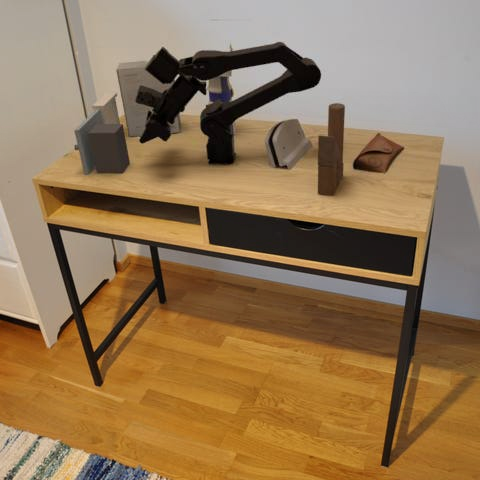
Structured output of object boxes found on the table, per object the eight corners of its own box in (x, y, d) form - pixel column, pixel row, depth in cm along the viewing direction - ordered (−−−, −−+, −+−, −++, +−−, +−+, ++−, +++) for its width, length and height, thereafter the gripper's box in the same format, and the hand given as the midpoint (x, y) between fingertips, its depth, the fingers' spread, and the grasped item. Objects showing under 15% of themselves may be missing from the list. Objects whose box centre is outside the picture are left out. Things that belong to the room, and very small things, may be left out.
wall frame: (124, 135, 165) (117, 92, 158) (112, 150, 156) (103, 105, 149) (114, 135, 166) (106, 92, 159) (101, 150, 156) (92, 105, 149)
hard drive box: (181, 124, 170) (173, 57, 160) (180, 133, 164) (172, 64, 153) (130, 128, 170) (119, 61, 159) (127, 137, 163) (115, 69, 153)
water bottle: (226, 125, 167) (220, 39, 154) (242, 133, 161) (237, 43, 148) (203, 132, 163) (194, 44, 150) (218, 140, 157) (211, 49, 144)
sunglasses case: (386, 174, 133) (374, 150, 131) (361, 183, 137) (349, 160, 136) (405, 146, 146) (394, 124, 144) (381, 156, 150) (371, 134, 149)
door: (109, 149, 156) (100, 108, 150) (88, 174, 143) (78, 130, 137) (98, 149, 157) (90, 108, 150) (77, 174, 143) (67, 130, 137)
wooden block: (317, 194, 126) (318, 118, 117) (328, 174, 135) (330, 101, 125) (333, 196, 125) (335, 119, 116) (343, 176, 134) (346, 102, 124)
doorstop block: (129, 163, 147) (122, 124, 141) (122, 173, 142) (115, 132, 136) (104, 163, 148) (96, 124, 142) (96, 173, 143) (88, 133, 137)
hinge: (289, 170, 138) (276, 133, 134) (273, 173, 141) (259, 137, 137) (312, 145, 150) (300, 110, 147) (297, 148, 153) (285, 114, 149)
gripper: (154, 64, 141) (119, 110, 147) (148, 86, 125) (108, 136, 131) (189, 92, 145) (153, 135, 151) (187, 117, 129) (147, 164, 135)
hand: (140, 142), depth 142 cm, fingers closed
